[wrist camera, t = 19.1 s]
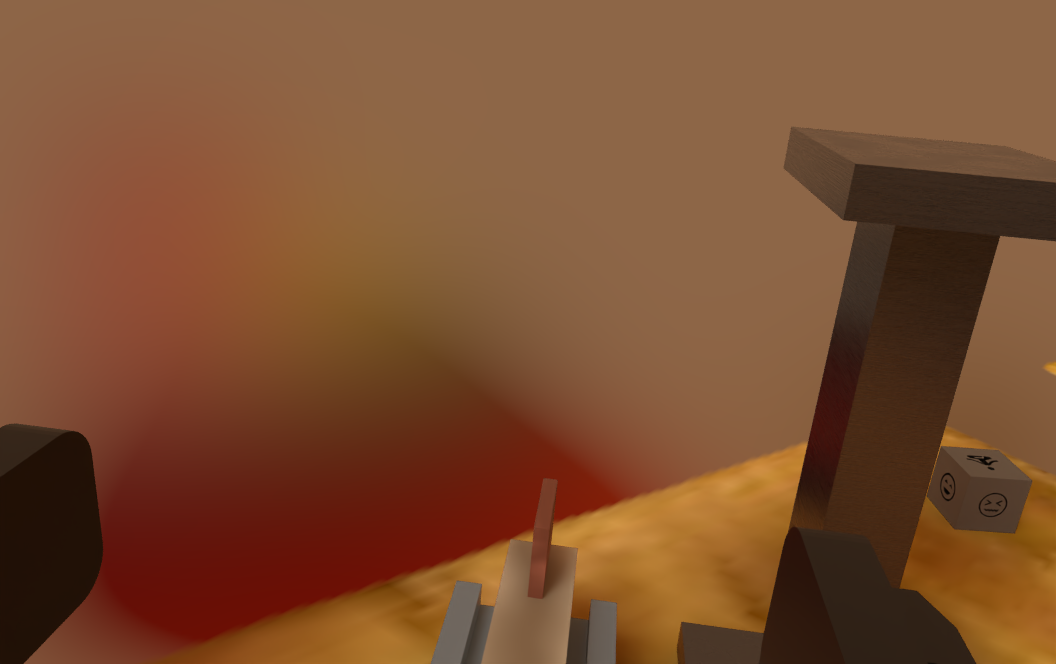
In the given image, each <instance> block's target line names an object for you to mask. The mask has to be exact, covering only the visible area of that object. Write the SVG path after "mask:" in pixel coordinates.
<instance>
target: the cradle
mask: <svg viewBox="0 0 1056 664" xmlns="http://www.w3.org/2000/svg"><path fill="white" fill-rule="evenodd" d="M481 588H482V584H478V583H471V582H464V581H457V582H456V585H455V588H454V591H453V594H452V598H451V601H450V604H449V607H448V610H447V614H446V617H445V620H444V623H443V626H442V630H441V633H440V636H439V639H438V642H437V645H436V649H435V652H434V655H433V658H432V661H431V664H481V662H482V658H483V654H484V650H485V645H486V641H487V637H488V633H489V629H490V624H491V620H492V616H493V612H494V608H495V607H493V606H486V605H480V603H481ZM616 616H617V603H614V602H607V601H600V600H593V599H591V605H590V612H589V620H585V619H578V618H570V628H569V638H568V647H567V657H566V664H615V663H616Z"/></svg>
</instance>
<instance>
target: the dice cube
mask: <svg viewBox="0 0 1056 664" xmlns="http://www.w3.org/2000/svg"><path fill="white" fill-rule="evenodd" d="M1031 484H1032V480H1031V479H1030V478H1029V477H1028V476H1027V475H1026V474H1024V473H1023V472H1022V471H1021V470H1020V469H1019V468H1018V467H1017V466H1016V465H1014V464H1013V463H1012V462H1011V461H1010V460H1009V459H1008V458H1007V457H1006V456H1004V455H1003V454H1002V453H1001V452H1000V451H999V450H987V449H973V448H960V447H946V446H941V448H940V452H939V455H938V459H937V462H936V465H935V469H934V472H933V476H932V479H931V483H930V486H929V490H928V493H927V497H928V498H929V499H930V501H931V502H932V503H933V504H934V505H935V507H936V508H937V509H938V510H939V511H940V513H941V514H942V515H943V516H944V517H945V518H946V520H947V521H948V522H949V523H950V524H951V526H952V527H953V528H954V529H959V530H974V531H988V532H1003V533H1015V531H1016V528H1017V525H1018V522H1019V519H1020V516H1021V513H1022V510H1023V507H1024V504H1025V501H1026V498H1027V496H1028V493H1029V490H1030V487H1031Z"/></svg>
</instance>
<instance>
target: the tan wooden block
mask: <svg viewBox="0 0 1056 664" xmlns="http://www.w3.org/2000/svg"><path fill="white" fill-rule="evenodd" d="M556 491H557V480H554V479H546V478H544V480H543V485H542V490H541V495H540V500H539V505H538V510H537V516H536V521H535V525H534V534H533V542H528V541H520V540H513V539H511V541H510V545H509V549H508V553H507V557H506V562H505V566H504V570H503V574H502V578H501V582H500V587H499V591H498V595H497V599H496V603H495V608H494V612H493V616H492V620H491V624H490V629H489V633H488V637H487V641H486V645H485V650H484V654H483V658H482V662H481V664H566V657H567V647H568V638H569V628H570V618H571V609H572V599H573V589H574V580H575V570H576V561H577V551H578V548H572V547H564V546H557V545H551V539H552V529H553V519H554V509H555V500H556Z"/></svg>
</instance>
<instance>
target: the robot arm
mask: <svg viewBox="0 0 1056 664" xmlns="http://www.w3.org/2000/svg"><path fill="white" fill-rule="evenodd" d="M102 556H103V542H102V533H101V525H100V517H99V509H98V501H97V492H96V484H95V477H94V468H93V460H92V453H91V448H90V445H89V443H88V441H87V439H86V438H85V437H84V436H83V435H82V434H80V433H79V432H75V431H69V430H61V429H53V428H46V427H38V426H30V425H23V424H9V425H5V426H3V427H1V428H0V664H24V662H25V661H27V659H28V658H29V657H30V656H31V655H32V654H33V653H34V652H35V651H36V650H37V649H38V648H39V647H40V646H41V645H42V644H43V643H44V642H45V641H46V640H47V638H49V637H50V635H52V633H53V632H54V631H55V630H56V629H57V628H58V627H59V626H60V625H61V624H62V623H63V622H64V621H65V620H66V619H67V618H68V617H69V616H70V615H71V614H72V613H73V612H74V610H75V609H76V608H77V607H78V606H79V605H80V604H81V603H82V602H83V601H84V600H85V599H86V597H87V596H88V594H89V593H90V591H91V589H92V588H93V586H94V584H95V581H96V579H97V577H98V574H99V571H100V567H101V563H102ZM760 664H976V662H975V661H974V659H973V657H972V655H971V653H970V652H969V650H968V648H967V646H966V644H965V642H964V641H963V639H962V637H961V635H960V633H959V632H958V630H957V628H956V627H955V626H954V625H953V624H952V623H951V622H950V621H948V620H947V619H946V618H945V617H944V616H943V615H942V614H941V613H940V612H939V611H938V610H937V609H936V608H935V607H933V606H932V605H931V604H930V603H929V602H928V601H927V600H926V599H925V598H924V597H923V596H922V595H921V594H920V593H918V592H917V591H914V590H906V589H899V588H892V587H891V585H890V583H889V581H888V578H887V576H886V574H885V572H884V570H883V568H882V566H881V564H880V562H879V559H878V557H877V555H876V553H875V551H874V549H873V547H872V545H871V543H870V541H869V540H868V538H867V537H865V536H863V535H856V534H849V533H841V532H833V531H825V530H818V529H810V528H802V527H792V528H791V529H790V530H789V532H788V534H787V536H786V539H785V542H784V546H783V550H782V554H781V559H780V563H779V568H778V572H777V577H776V581H775V586H774V590H773V595H772V599H771V604H770V608H769V613H768V617H767V622H766V626H765V631H764V635H763V640H762V646H761V654H760Z"/></svg>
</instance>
